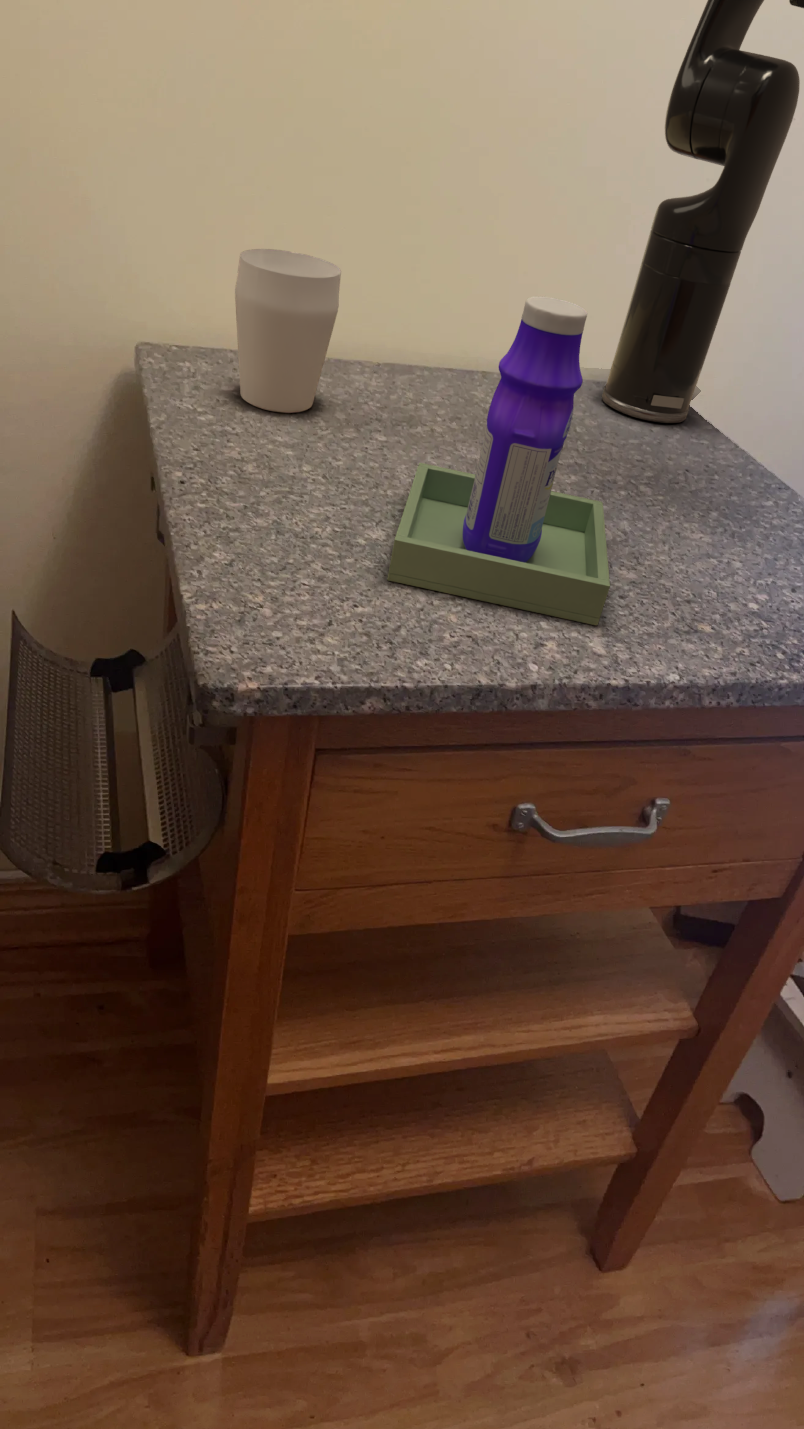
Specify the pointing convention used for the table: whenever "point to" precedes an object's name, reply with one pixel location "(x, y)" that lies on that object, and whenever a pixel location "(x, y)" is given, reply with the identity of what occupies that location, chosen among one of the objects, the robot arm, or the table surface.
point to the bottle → (526, 431)
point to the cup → (283, 326)
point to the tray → (548, 583)
